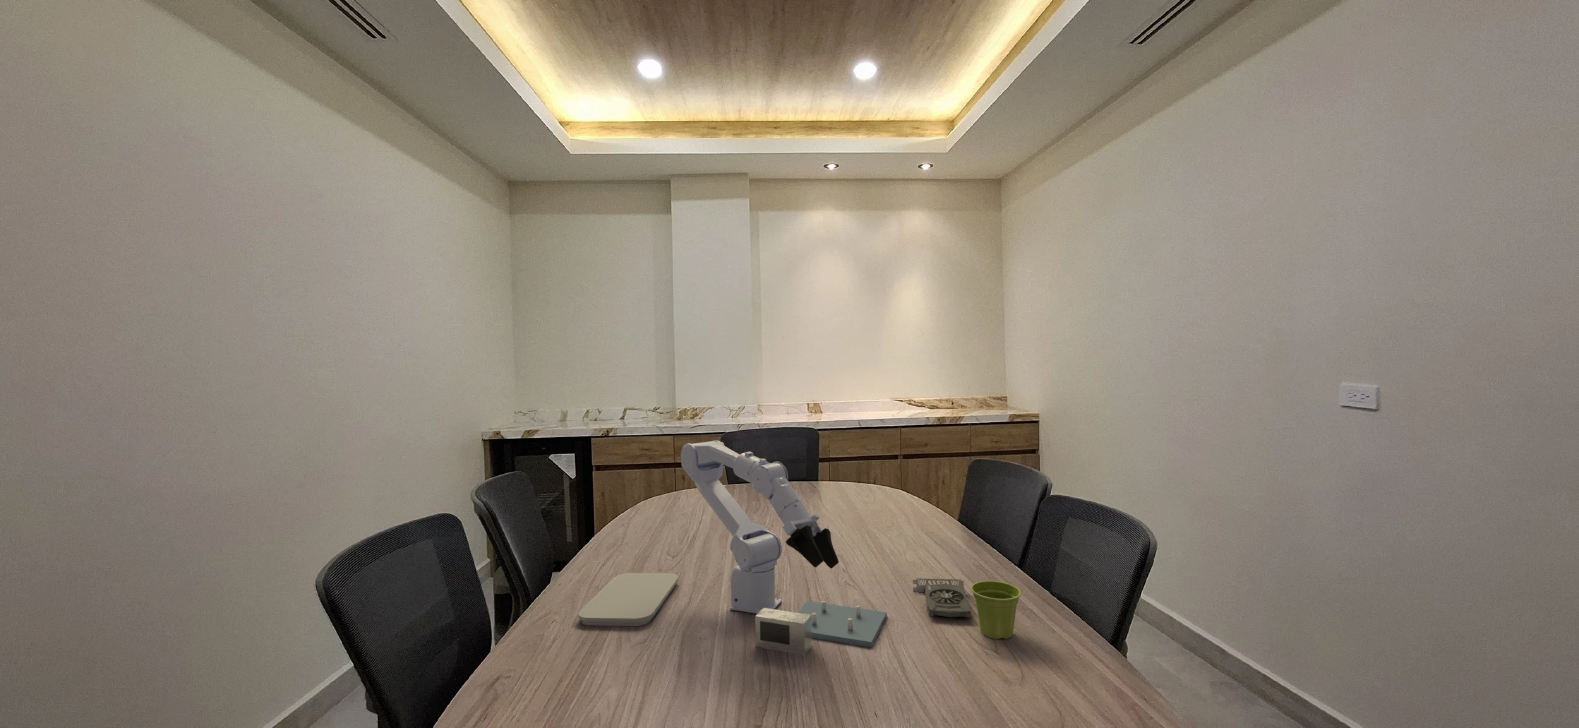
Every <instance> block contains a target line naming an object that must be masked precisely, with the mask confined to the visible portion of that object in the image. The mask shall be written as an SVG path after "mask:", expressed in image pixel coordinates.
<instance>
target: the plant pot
mask: <svg viewBox="0 0 1579 728" xmlns="http://www.w3.org/2000/svg"><path fill="white" fill-rule="evenodd" d="M970 591H971V592H972V593H973V594H972V595H973V598H974V600H975V604H976V612H977V618H978V623H979V628H980V629H979V631H981V633H982V634H983V635H984V636H985V637H988V638H991V639H994V640H999V639H1005V640H1007V639H1010V638H1012V637H1013V635H1014V629H1015V620H1016V612H1017V606H1018V605H1017V604H1018V603H1019V598H1020V597H1022V591H1021V590H1020V589H1019V587H1017V586H1015V585H1013V584H1011V583H1007V582H1004V581H997V580H983V581H982V580H981V581H977V582H975V583H973V584H972V585H971V586H970Z"/></svg>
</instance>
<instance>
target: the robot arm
mask: <svg viewBox="0 0 1579 728" xmlns="http://www.w3.org/2000/svg"><path fill="white" fill-rule="evenodd" d="M680 461H681V467H682V468H683V470H684V472H685V473H686V474H687V476H688V477H689V478H690V479H691V481H692V482H693V483H694V485H695V487H696V489H697V491H698V492H699V493H700V494H701V496H702V497H703V498H704V500H705V501H706V503H707V504H708V506H710V509H712V511H713V512H714V513H715V515H716V516H717V517H718V519H719V520H720V521H721V523H722V524H723V525H724V526H725V528H726V530H727V531H729V533H730V535H731V536H732V538H731V541H730V545H729V546H730V547H729V550H730V551H731V553H732V554H733V556H734V560H735V562H736V564H735V566H734V567H733V569H732V572H731V576H730V577H731V578H730V599H731V600H730V603H731V604H730V607H729V609H730V610H732V611H739V612H744V613H752V614H756V615H757V614H758V613H759V612H760V611H761V610H762V609H763V608H768V609H775V610H776V608H777V607H778V606H779V605H780V604H781V603H782V601H783V600H782V599H781V598H776V577H775V575H776V573H775V572H776V570H775V568H776V567H775V566H777V565H778V560H779V559H780V558H781V556H782V553H783V552H782V551H783V546H782V541H781V540H780V538H779V536H778V535H777V534H776V533H774V532H771V531H770V530H769V528H767V527H766V526H765V525H761V524H758V523H754V522H753V521H752V520H751V518H750V517H749V516H748V515H747V513H746V512H745V511H744V510H743V508H741V506H740V504H738V502H737V501H736V499H734V497H733V496H732V494H731V493H730V492H729V491H728V490H727V488H726V486H724V484H723V483H722V482H721V481H720V478H721V477H722V476H723V473H724V466H726V467H728V468H731V469H732V470H733V473H734V475H735V476H737V477H739V478H741V479H742V480H744V481H746V482H748V483H750V484H752V485H753V487H752V489H753V490H754V491H755V492H757V493H758V494H761V496H762V497H763V498H764V499H766V500H768V502H769V503H770V505H771V506H772V508H773V510H774V511H775V513H776V514H777V516H778V517H779V519H780V520H781V522H782V524H783V526H782V529H783V530H784V532H785V534H786V535H787V536H789V537H788V538H787V539H786V541H785V543H786V545H787V546H788V547H790V548H792V549H794V550H795V551H796V552H798V553H799V554H800V555H801V556H802V557H803V558H804V559H805V560H806V561H807V562H808V563H810V565H811V566H813V568H818V566H820V565H821V564H822V563H825V565H826V566H827V567H828V568H830V569H833V568H834V567H836V566H837V565H838V564H839V563H840V561H839V559H838V555H837V553H836V551H835V548H834V545H833V541H832V534H831V531H830V529H829V528H826V527H825V528H824V529H823V528H822V527H821V526H819V524H818V520H819V519H820V516H819V515H818V514H813V515H812V514H811V513H810V512H809V510H808V508H807V507H806V506H805V504H804V503H803V501H802V500H801V498H800V496H798V494H797V493H796V491H795V489H794V488H793V486H792V485H791V483H790V482H789V474H788V473H789V472H788V470H787V468H786V466H785V465H784V464H783V463H782V462H781V461H773V462H769V461H767V459H766V458H760V457H757V456H755V455H754V453H753V452H752V451H745V452H743V453H740V454H739V453H738V452H736V451H734V450H732V449H730V448H729V447H727V446H725V443H724V442H723V441H719V440H717V439H716V440H715V439H714V440H712V441H704V442H696V443H685V444H684V445H683V447H682V448H681V451H680Z"/></svg>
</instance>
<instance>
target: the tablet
mask: <svg viewBox="0 0 1579 728" xmlns="http://www.w3.org/2000/svg"><path fill="white" fill-rule="evenodd" d="M677 582H679V576H678V574H675V573H671V572H670V573H669V572H667V573H666V572H665V573H664V572H660V573H659V572H654V573H653V572H626V573H621V574H618V575H615V576H614V577H613V578H611V580H610V581H609V582H608V583H606V584H605V585H604V587H602V588H601V589H600V591H598V592H597V593H596V594H595V595H594V596H593V597H592V598H591V599H590V600H589V601H588V602H587V603H586V604H585V605H584V606H583V607H582V608H581V609H580V610H579V611H578V613H577V618H578V619H579V620H581V623H582V625H585V626H607V627H608V626H616V627H618V626H619V627H621V626H622V627H639V626H645V625H646V624H648V623H650V622H651V621H652V620H653V618H654V616H655V615H656V614H657V613H658V611H659V610H660V608H661V607H662V606H663V604H664V602H665V601H666V600H667V598H668V597H669V595H670V594H671V593H672V591H673V589H674V588H675V587H676V585H677Z"/></svg>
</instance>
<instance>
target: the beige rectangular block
mask: <svg viewBox="0 0 1579 728" xmlns="http://www.w3.org/2000/svg"><path fill="white" fill-rule="evenodd" d="M754 617H755V618H754V619H755V647H757V648H761V647H762V648H763V649H767V650H773V651H777V650H779V651H780V652H784V653H788V654H789V653H790V654H795V655H799V656H800V655H802V656H806V654H807V653H808V652H809V650H810V649H811V647H812V646H813V643H812V642H813V639H812V627H811V615H809V614H802V613H797V612H794V611H788V610H780V609H776V608H775V609H768V608H763V609H762V610H761V611H760V612H759V613H758V614H757V613H756V615H755V616H754ZM762 648H761V649H762ZM779 651H778V652H779Z"/></svg>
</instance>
